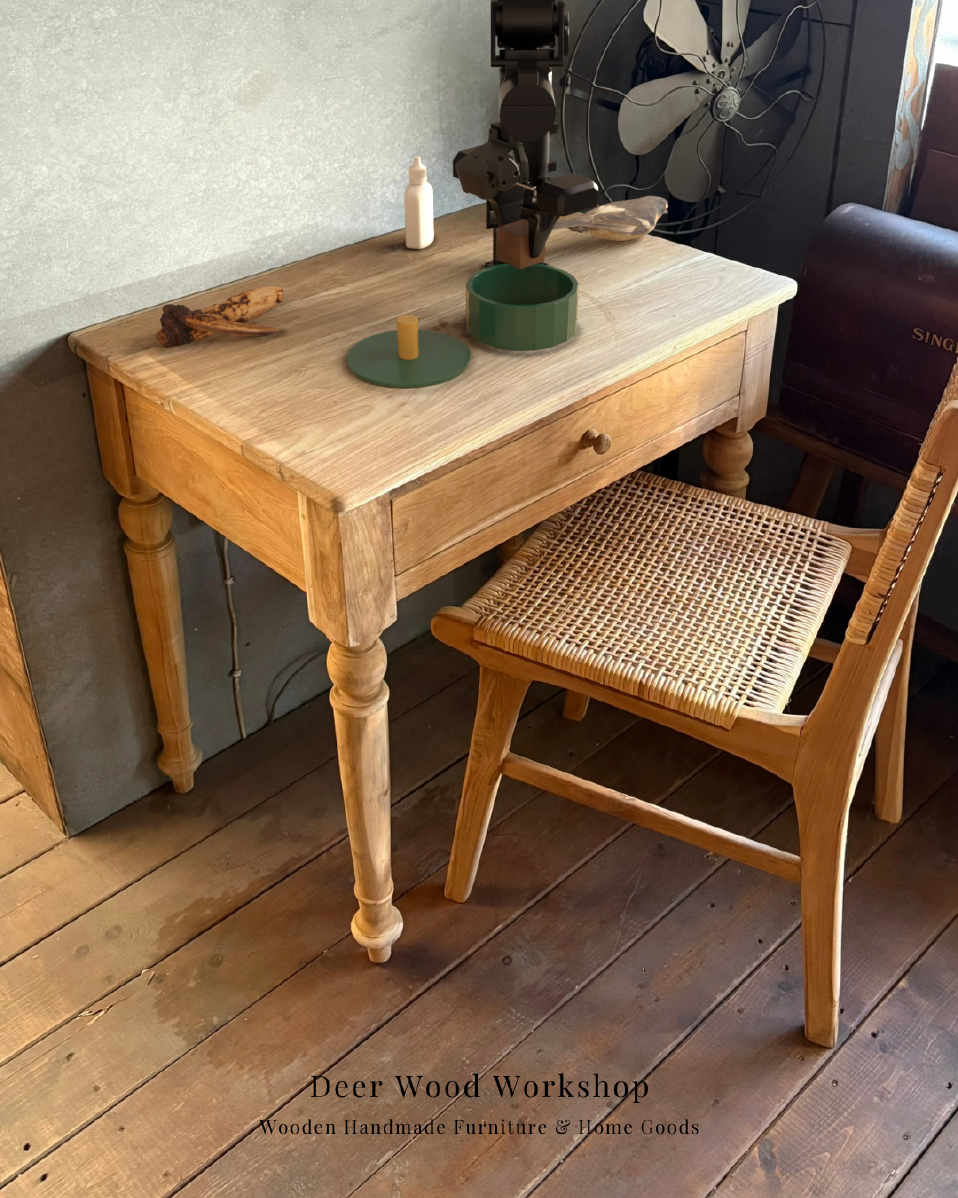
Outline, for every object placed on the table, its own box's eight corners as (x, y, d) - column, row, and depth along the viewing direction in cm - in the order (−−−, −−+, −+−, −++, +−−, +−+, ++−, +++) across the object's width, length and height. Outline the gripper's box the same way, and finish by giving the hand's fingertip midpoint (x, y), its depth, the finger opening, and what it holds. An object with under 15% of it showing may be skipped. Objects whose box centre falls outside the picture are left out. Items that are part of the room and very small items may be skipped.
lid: (322, 361, 140) (318, 316, 136) (418, 327, 147) (416, 283, 144) (398, 405, 131) (396, 358, 128) (496, 366, 138) (496, 321, 135)
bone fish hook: (190, 371, 139) (313, 322, 148) (184, 334, 136) (310, 287, 145) (147, 343, 144) (269, 298, 153) (140, 307, 141) (265, 263, 150)
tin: (443, 328, 147) (442, 282, 143) (524, 299, 154) (525, 254, 150) (517, 365, 139) (518, 317, 135) (599, 332, 146) (602, 285, 142)
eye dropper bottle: (444, 242, 170) (443, 156, 162) (414, 252, 167) (411, 165, 159) (425, 233, 172) (422, 148, 165) (394, 243, 169) (391, 157, 162)
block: (497, 259, 141) (497, 226, 139) (522, 251, 143) (523, 218, 141) (520, 269, 139) (520, 236, 136) (545, 261, 141) (546, 227, 138)
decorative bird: (684, 232, 173) (688, 197, 170) (553, 271, 161) (554, 234, 158) (654, 219, 177) (657, 185, 174) (523, 256, 165) (524, 221, 162)
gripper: (414, 109, 132) (418, 246, 142) (528, 148, 121) (525, 294, 130) (489, 91, 138) (489, 224, 147) (605, 127, 127) (596, 268, 136)
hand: (521, 252), depth 140 cm, fingers closed on block, 4 cm apart
